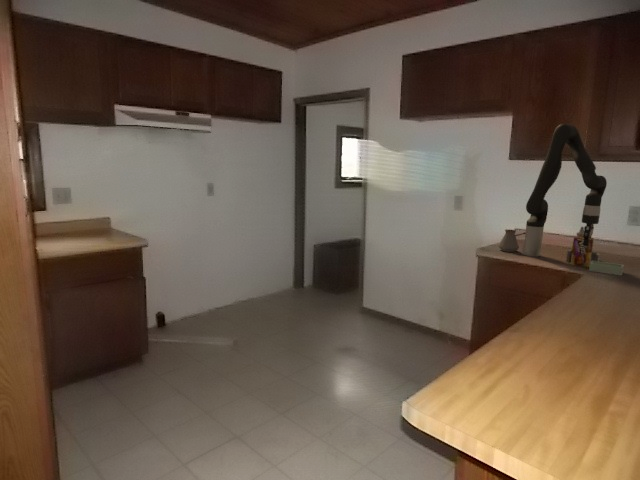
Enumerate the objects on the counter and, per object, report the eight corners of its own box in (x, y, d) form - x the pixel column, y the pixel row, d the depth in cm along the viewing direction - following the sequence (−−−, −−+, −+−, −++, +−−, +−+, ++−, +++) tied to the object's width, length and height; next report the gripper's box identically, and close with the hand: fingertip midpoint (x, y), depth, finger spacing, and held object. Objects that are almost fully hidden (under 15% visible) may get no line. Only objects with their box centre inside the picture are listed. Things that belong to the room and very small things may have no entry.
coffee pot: (497, 251, 260) (499, 226, 257) (499, 248, 270) (501, 224, 267) (536, 255, 250) (539, 230, 247) (536, 252, 260) (539, 228, 257)
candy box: (590, 266, 227) (594, 237, 224) (589, 267, 223) (593, 238, 221) (571, 263, 232) (574, 235, 229) (570, 264, 229) (573, 236, 226)
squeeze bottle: (581, 256, 253) (586, 226, 250) (588, 259, 245) (593, 228, 242) (567, 255, 254) (571, 225, 251) (574, 258, 246) (578, 227, 243)
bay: (566, 261, 236) (567, 251, 235) (568, 259, 242) (569, 249, 241) (596, 266, 227) (598, 255, 226) (598, 263, 233) (600, 252, 232)
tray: (588, 270, 216) (589, 263, 215) (590, 267, 222) (591, 260, 222) (621, 275, 208) (622, 267, 207) (622, 272, 214) (623, 264, 214)
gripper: (584, 212, 230) (580, 242, 233) (580, 214, 219) (576, 245, 221) (601, 213, 225) (596, 244, 228) (598, 216, 214) (593, 247, 217)
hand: (586, 244), depth 225 cm, fingers open, 8 cm apart
